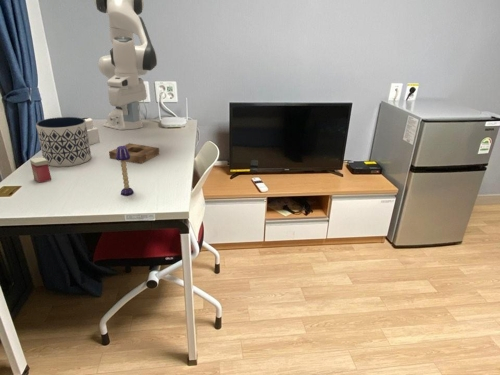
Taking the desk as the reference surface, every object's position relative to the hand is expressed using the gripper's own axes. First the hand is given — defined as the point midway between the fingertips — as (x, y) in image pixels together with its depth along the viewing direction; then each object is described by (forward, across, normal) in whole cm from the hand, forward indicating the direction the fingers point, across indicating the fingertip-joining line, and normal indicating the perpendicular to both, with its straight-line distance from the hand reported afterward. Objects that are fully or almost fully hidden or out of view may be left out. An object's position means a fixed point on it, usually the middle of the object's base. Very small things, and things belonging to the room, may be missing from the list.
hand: (130, 113), depth 147 cm
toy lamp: (+20, +33, +21) cm, 44 cm away
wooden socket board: (+19, 0, 0) cm, 19 cm away
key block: (+3, 0, 0) cm, 3 cm away
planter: (+19, +16, -22) cm, 33 cm away
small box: (+20, +36, -14) cm, 43 cm away
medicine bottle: (+19, -7, -32) cm, 38 cm away
